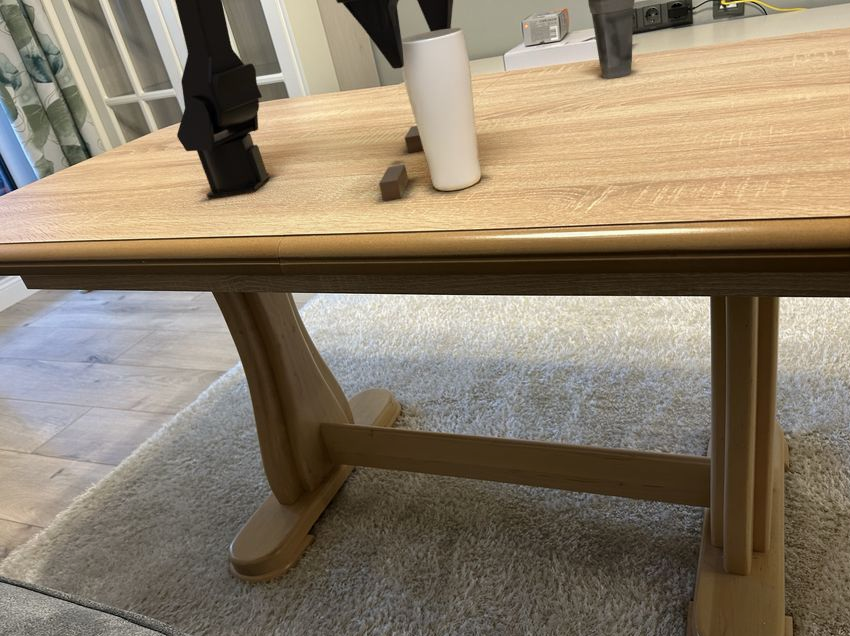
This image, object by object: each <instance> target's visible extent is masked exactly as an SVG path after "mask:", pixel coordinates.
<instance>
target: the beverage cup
mask: <svg viewBox="0 0 850 636" xmlns="http://www.w3.org/2000/svg"><path fill="white" fill-rule="evenodd" d="M587 3H588V8H589V12H590V14H591V17H592V24H593V31H594V36H595V42H596V43H595V44H596V49H597V55H598V61H599V67H600V71H601V76H602V78H603V79H616V78H621V77H625V76H628V75H630V74H632V63H633V29H634V28H633V27H634V6H635V0H587Z"/></svg>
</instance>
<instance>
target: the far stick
mask: <svg viewBox="0 0 850 636" xmlns="http://www.w3.org/2000/svg"><path fill="white" fill-rule="evenodd" d="M404 141H405V146H406V151H407V153H408V154H409V153H415V152H422V151H424V149H423V145H422V142H421V138H420V135H419V132H418V128H417V125H412V126H410V128H409V129H408V131H407V133H406V134H405V136H404Z"/></svg>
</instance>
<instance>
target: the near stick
mask: <svg viewBox="0 0 850 636" xmlns="http://www.w3.org/2000/svg"><path fill="white" fill-rule="evenodd" d="M409 181H410V180H409V175H408V172H407V168H406V164H403V163H402V164H397V165H392V166H387V168H386V170H385V172H384V174H383V176H382V177H381V179H380V181H379V183H378V186H379V189H380V193H381V196H382V201H392V200H398V199H401V198H402V197H403V194H404V192H405V190H406V187H407V186H408V184H409Z"/></svg>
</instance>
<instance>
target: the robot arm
mask: <svg viewBox="0 0 850 636" xmlns="http://www.w3.org/2000/svg"><path fill="white" fill-rule="evenodd" d="M174 1H175V6H176V10H177V14H178V18H179V22H180V26H181V30H182V35H183V38H184V43H185V46H186V47H185V48H186V51H187V57H186V59H185V60H186V61H185V65H184V68H183V73H182V77H181V89H182V96H183V104H184V110H183V113H182V116H181V120H180V123H179V126H178V130H177V133H176V136H177V139H178V140H179V142H180V144H181V145H182V147H183V148H184V150H185V151H186V152H197V156H198V158H199V161H200V163H201V166H202V169H203V173H204V175H205V176H206V180H207V183H208V185H209V188H210V191H209V192H207V193H206V197H207V199H212V198H213V199H214V198H219V197H224V196H231V195H237V194H243V193H244V194H245V193H250V192H254V191H256V190H257V189H258V188H259V187H260V186H261V185H262V184H263V183H264V182H265V181H266V180H268V178H270V174H269V172H267V170H266V169H267V168H266V166H265V163H264V159H263V157H262V154H261V150H260V148H259V145H257V144H255V143H254V140H253V138H252V135H251V133H253V132H256V131H258V130H259V117H258V115H259V114H258V112H259V109H260V101H259V99H262V97H263V96H262V93H261V91H260V90H259V86H258V83H257V82H258V81H257V72H256V67H255V66H254V64H253V63H251V62H250V63H244V61H243V60H242V59H241V58H240V57H239V55H238V54H237V53H236V52H235V50H234V49H233V46H232V43H231V38H230V33H229V29H228V23H227V20H226V19H227V18H226V14H225V9H224V6H223V5H224V4H223V0H174ZM335 1H336V3H337V4H342V5H343V6H344V7H345V9H346V10H347V11H348V12H349V13H350V15H352V17H353V18H354V19H355V20H356V21H357V23H358V24H359V25H360V26H361V27H362V29H363V30H364V32H365V33H366V34H367V35H368V36H369V38H370V39H371V41H372V42H373V43H374V45H375V46H376V47H377V48H378V50H379V51H380V53H381V55H383V57H384V58H385V60H386V61H387V63H389V65H390V67H391V68H392V69H394V70H396V69H401V68H402V67H403V66H404V60H403V48H402V40H401V39H402V34H401V33H402V32H401V27H400V19H399V12H398V11H399V10H398V3H399V1H400V0H335ZM416 1H417V3H418V6H419V8H420V11H421V13H422V15H423V18H424V20H425V22H426V24H427V26H428V29H429V32H431V31H437V30H443V29H450V28H452V19H453V18H452V17H453V7H454V0H416Z"/></svg>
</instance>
